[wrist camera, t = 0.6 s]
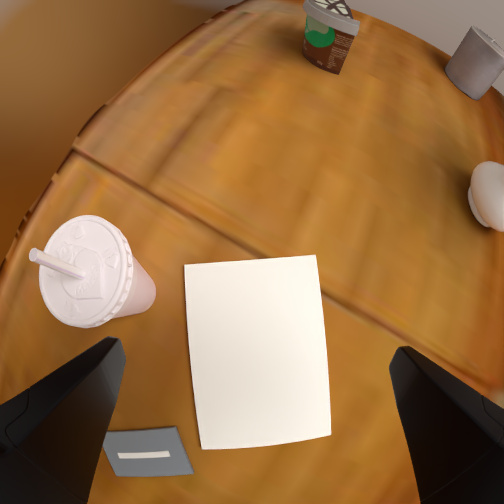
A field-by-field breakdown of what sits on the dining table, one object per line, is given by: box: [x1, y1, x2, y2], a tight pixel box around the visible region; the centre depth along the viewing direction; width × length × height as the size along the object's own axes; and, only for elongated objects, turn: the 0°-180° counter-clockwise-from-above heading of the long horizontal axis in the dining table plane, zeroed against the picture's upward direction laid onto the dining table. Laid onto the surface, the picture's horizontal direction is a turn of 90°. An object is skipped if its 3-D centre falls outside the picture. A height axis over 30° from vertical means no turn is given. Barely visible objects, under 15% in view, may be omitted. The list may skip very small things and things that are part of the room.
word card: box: [103, 426, 194, 477], centre depth 18 cm, size 5×8×1 cm, turn 105°
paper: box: [184, 255, 331, 449], centre depth 21 cm, size 16×11×1 cm
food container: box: [303, 0, 360, 75], centre depth 27 cm, size 12×6×10 cm, turn 174°
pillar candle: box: [445, 26, 504, 100], centre depth 28 cm, size 10×10×15 cm
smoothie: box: [29, 215, 156, 328], centre depth 15 cm, size 6×6×14 cm
